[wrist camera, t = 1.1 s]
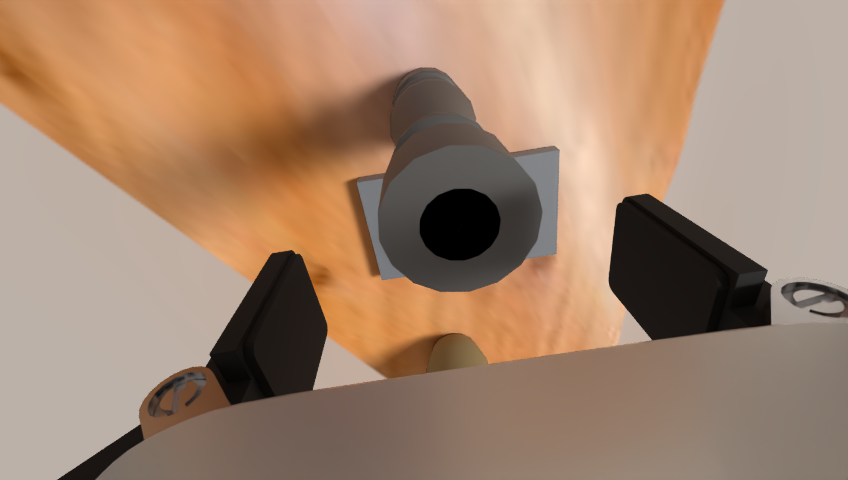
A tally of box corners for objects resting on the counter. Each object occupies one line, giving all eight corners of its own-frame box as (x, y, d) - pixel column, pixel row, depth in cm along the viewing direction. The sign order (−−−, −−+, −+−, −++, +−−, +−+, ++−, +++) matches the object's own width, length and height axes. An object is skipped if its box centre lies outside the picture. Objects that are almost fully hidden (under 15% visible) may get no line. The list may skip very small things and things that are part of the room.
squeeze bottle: (422, 328, 48) (429, 471, 32) (484, 323, 48) (521, 464, 32) (426, 371, 52) (435, 516, 36) (483, 366, 52) (516, 510, 36)
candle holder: (450, 142, 36) (514, 308, 14) (388, 129, 35) (358, 284, 14) (467, 75, 33) (580, 157, 12) (400, 59, 32) (385, 115, 11)
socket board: (554, 145, 37) (573, 160, 32) (551, 247, 43) (568, 271, 38) (358, 177, 38) (351, 196, 33) (382, 272, 44) (379, 299, 39)
